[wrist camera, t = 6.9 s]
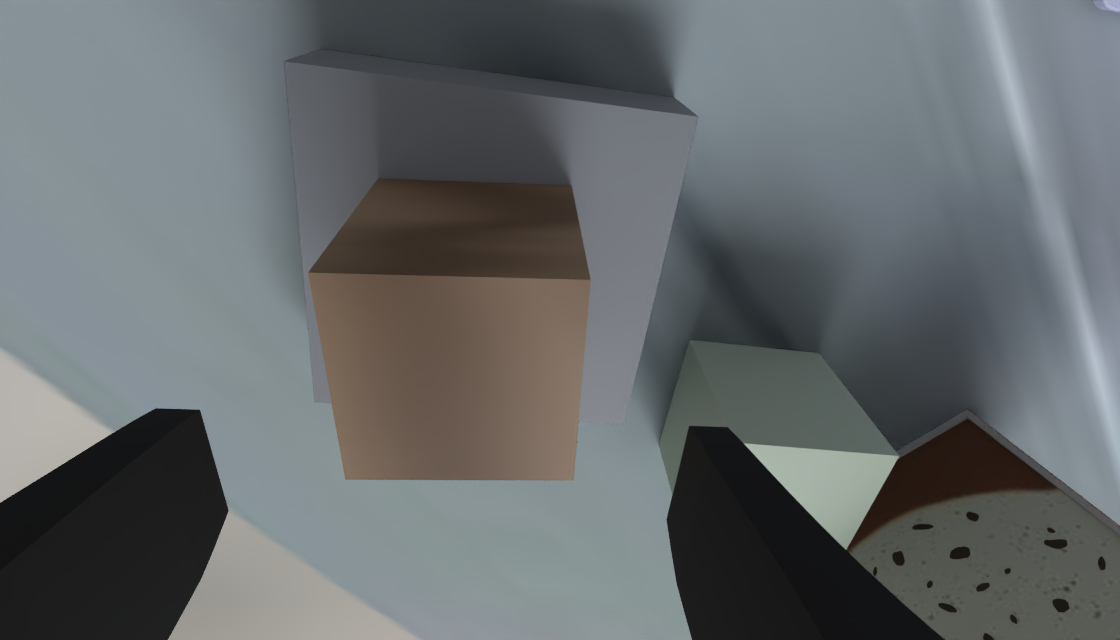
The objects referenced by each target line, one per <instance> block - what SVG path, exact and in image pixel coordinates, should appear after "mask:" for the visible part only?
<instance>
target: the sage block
mask: <svg viewBox="0 0 1120 640" xmlns="http://www.w3.org/2000/svg"><path fill="white" fill-rule="evenodd" d="M689 426H712V427H728V428H729V429H730V430H731V431H732V432H733V433H734V434H735V435H736V436H737V437H738V438H739V439H740V440H741V441H742V442H743V443H744V444H745V445H746V447H747V448H748V449H749V450H750V451H751V452H752V453H753V454H754V455H755V456H756V457H757V458H758V459H759V461H760V462H761V463H762V464H763V465H764V466H765V467H766V468H767V469H768V470H769V471H770V472H771V473H772V475H773V476H774V477H775V478H776V479H777V480H778V481H779V482H780V483H781V484H782V485H783V486H784V487H785V488H786V489H787V490H788V492H789V493H790V494H791V495H792V496H793V497H794V498H795V499H796V500H797V501H798V502H799V503H800V504H801V505H802V506H803V507H804V508H805V509H806V510H807V511H808V512H809V513H810V514H811V515H812V516H813V517H814V519H815V520H816V521H817V522H818V523H819V524H820V525H821V526H822V527H823V528H824V529H825V530H826V531H827V532H828V533H829V534H830V535H831V536H832V537H833V538H834V539H835V540H836V541H837V542H838V543H839V544H840V545H841V546H842V547H844V548H845V549H847V548H848V546H849V544H850V542H851V540H852V539H853V537H854V535H855V533H856V532H857V530H858V528H859V526H860V525H861V523H862V521H863V519H864V518H865V516H866V514H867V512H868V510H869V509H870V507H871V505H872V503H873V502H874V500H875V498H876V496H877V495H878V493H879V491H880V489H881V487H882V486H883V484H884V482H885V480H886V479H887V477H888V475H889V473H890V472H891V470H892V468H893V466H894V464H895V463H896V461H897V459H898V457H899V455H898V454H897V453H896V451H895V450H894V449H893V448H892V446H891V445H890V444H889V442H888V441H887V440H886V439H885V437H884V436H883V435H882V433H881V432H880V431H879V430H878V428H877V427H876V426H875V424H874V423H873V422H872V420H871V419H870V418H869V417H868V415H867V414H866V413H865V411H864V410H863V409H862V408H861V406H860V405H859V404H858V402H857V401H856V400H855V399H854V397H853V396H852V395H851V393H850V392H849V391H848V390H847V388H846V387H845V386H844V384H843V383H842V382H841V381H840V379H839V378H838V377H837V375H836V374H835V373H834V372H833V370H832V369H831V368H830V366H829V365H828V364H827V363H826V361H825V360H824V359H823V357H822V356H821V355H820V354H819V353H813V352H803V351H793V350H784V349H774V348H764V347H754V346H744V345H735V344H725V343H715V342H705V341H695V340H689V343H688V347H687V350H686V353H685V357H684V360H683V364H682V367H681V370H680V374H679V377H678V381H677V384H676V387H675V391H674V394H673V397H672V401H671V404H670V408H669V411H668V414H667V418H666V421H665V425H664V428H663V431H662V435H661V438H660V442H659V448H660V451H661V455H662V458H663V462H664V466H665V469H666V473H667V476H668V480H669V484H670V487H671V491H672V494H673V491H674V487H675V483H676V479H677V474H678V470H679V466H680V462H681V457H682V453H683V449H684V445H685V441H686V436H687V432H688V428H689Z"/></svg>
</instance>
